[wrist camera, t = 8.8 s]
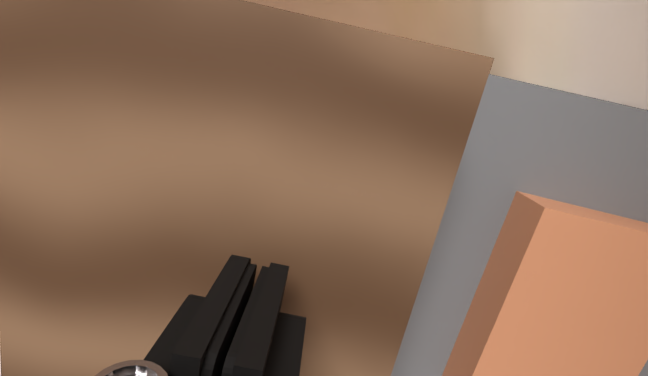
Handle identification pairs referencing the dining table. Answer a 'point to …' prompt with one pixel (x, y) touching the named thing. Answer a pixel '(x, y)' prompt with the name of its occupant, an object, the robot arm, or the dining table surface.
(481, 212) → the mat
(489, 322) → the peach rectangular tile
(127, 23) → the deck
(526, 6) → the dining table surface
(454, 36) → the dining table surface
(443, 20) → the dining table surface
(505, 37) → the dining table surface
